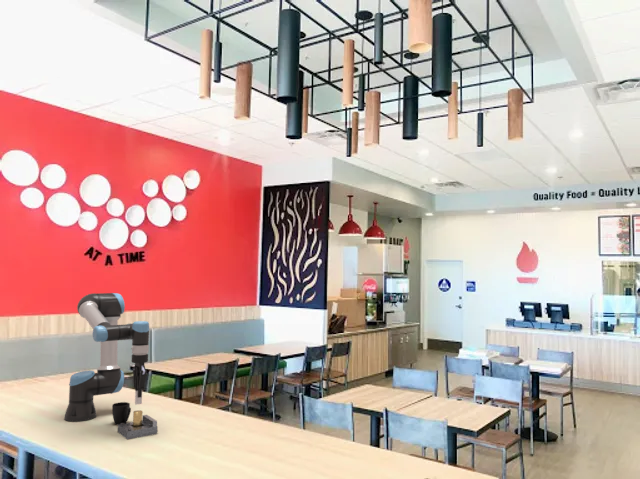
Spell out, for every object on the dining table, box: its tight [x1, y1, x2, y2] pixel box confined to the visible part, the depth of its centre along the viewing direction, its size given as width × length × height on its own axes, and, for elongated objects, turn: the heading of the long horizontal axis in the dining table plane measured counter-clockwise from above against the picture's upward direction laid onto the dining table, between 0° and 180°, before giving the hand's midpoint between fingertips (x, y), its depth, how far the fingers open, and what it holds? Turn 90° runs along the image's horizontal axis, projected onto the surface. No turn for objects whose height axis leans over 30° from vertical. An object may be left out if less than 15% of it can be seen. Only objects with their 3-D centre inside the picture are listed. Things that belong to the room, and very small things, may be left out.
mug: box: [111, 401, 132, 426], centre depth 260 cm, size 8×12×10 cm
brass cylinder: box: [132, 409, 143, 428], centre depth 246 cm, size 4×4×10 cm
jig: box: [117, 414, 158, 440], centre depth 246 cm, size 14×14×6 cm
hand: (138, 403), depth 247 cm, fingers closed
